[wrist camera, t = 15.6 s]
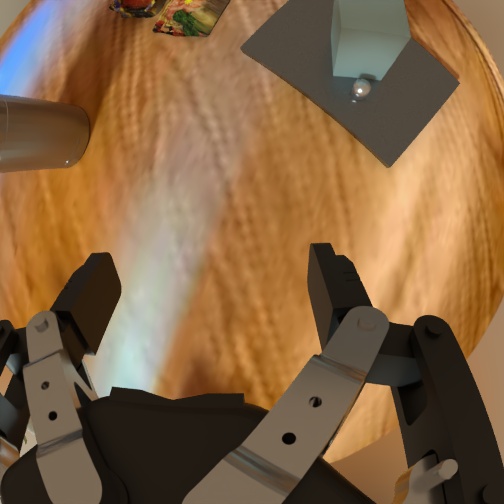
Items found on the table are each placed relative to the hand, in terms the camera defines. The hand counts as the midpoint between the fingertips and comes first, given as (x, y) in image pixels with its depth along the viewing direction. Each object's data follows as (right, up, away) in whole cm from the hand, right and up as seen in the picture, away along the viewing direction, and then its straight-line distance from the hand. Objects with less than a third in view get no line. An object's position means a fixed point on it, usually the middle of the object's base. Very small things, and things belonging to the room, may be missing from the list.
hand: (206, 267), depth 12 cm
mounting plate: (+13, +21, +14) cm, 28 cm away
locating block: (+12, +20, +13) cm, 27 cm away
